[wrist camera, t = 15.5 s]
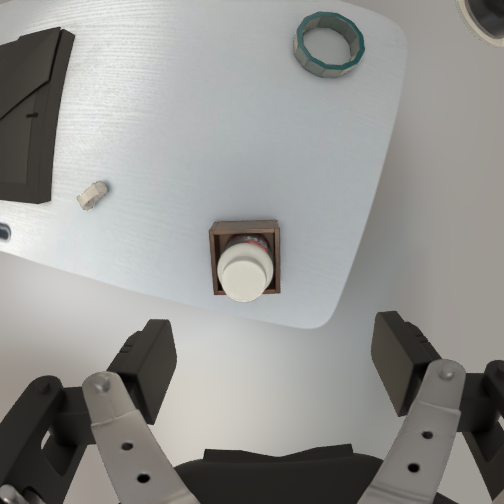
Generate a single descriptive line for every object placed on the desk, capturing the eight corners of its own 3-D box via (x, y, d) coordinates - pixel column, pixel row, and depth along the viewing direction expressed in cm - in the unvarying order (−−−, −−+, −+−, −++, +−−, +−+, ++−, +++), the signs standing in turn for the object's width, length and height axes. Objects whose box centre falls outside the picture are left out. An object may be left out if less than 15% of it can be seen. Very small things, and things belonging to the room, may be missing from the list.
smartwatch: (106, 177, 35) (90, 180, 32) (115, 191, 36) (100, 195, 32) (87, 194, 36) (71, 199, 32) (96, 208, 37) (80, 213, 33)
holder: (277, 219, 37) (279, 227, 32) (278, 278, 39) (280, 293, 34) (214, 221, 37) (208, 230, 32) (218, 280, 39) (213, 295, 35)
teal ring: (352, 26, 30) (360, 15, 26) (358, 79, 32) (367, 72, 28) (291, 22, 30) (294, 9, 26) (295, 76, 32) (299, 68, 28)
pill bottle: (269, 226, 36) (273, 251, 27) (272, 271, 38) (276, 308, 28) (222, 230, 37) (209, 255, 27) (226, 274, 38) (216, 311, 29)
